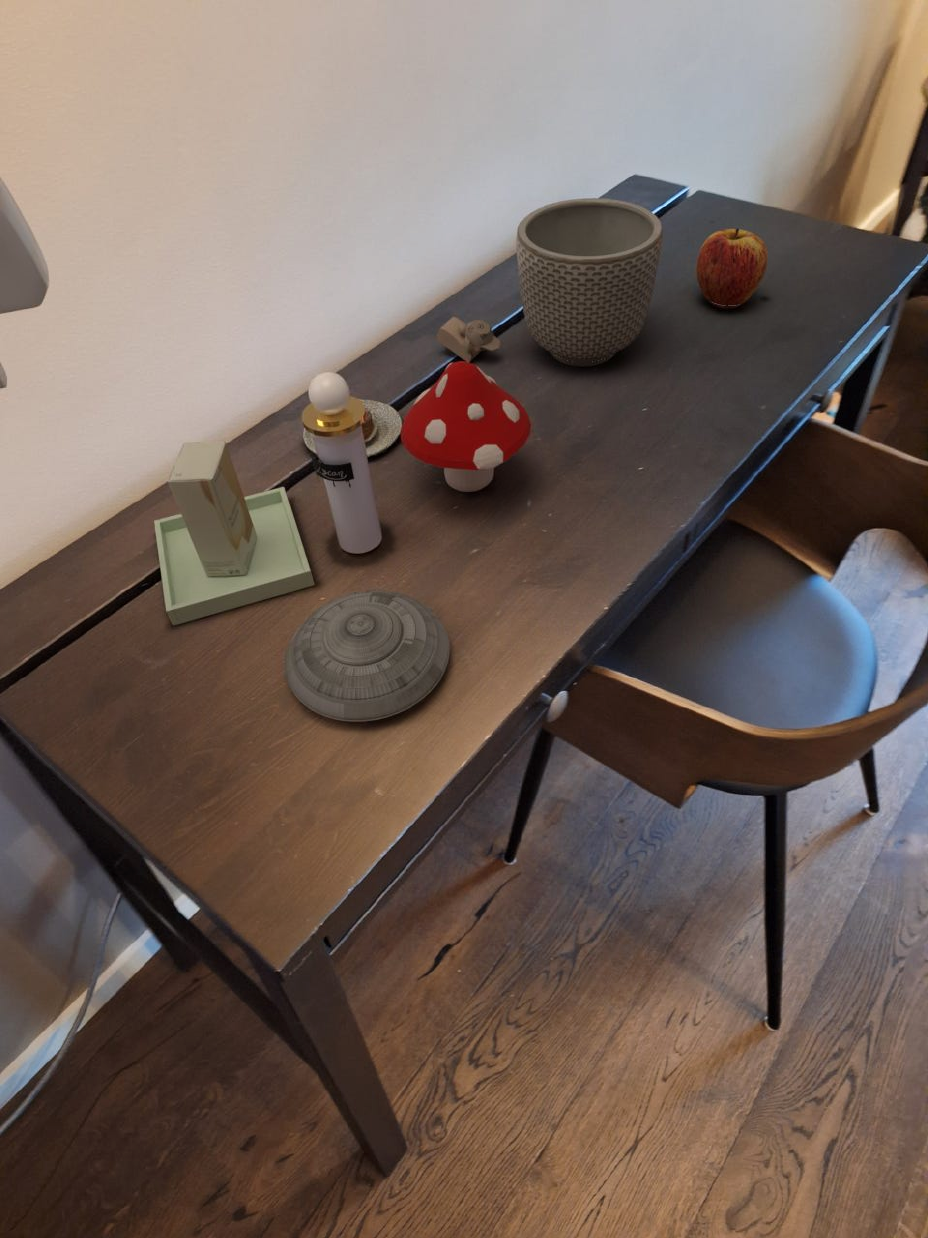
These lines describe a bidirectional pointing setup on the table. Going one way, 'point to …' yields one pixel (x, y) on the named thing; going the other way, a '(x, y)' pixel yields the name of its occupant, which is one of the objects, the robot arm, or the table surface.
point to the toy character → (467, 337)
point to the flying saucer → (367, 656)
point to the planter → (587, 276)
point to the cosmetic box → (213, 508)
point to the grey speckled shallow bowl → (372, 428)
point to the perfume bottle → (343, 461)
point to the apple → (731, 266)
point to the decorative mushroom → (465, 426)
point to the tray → (268, 575)
